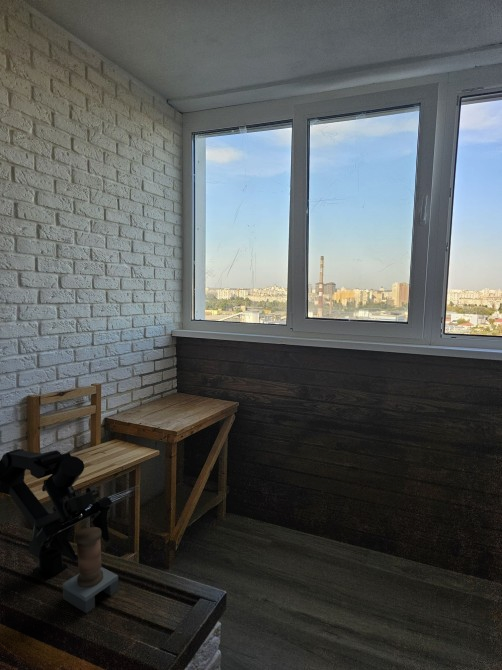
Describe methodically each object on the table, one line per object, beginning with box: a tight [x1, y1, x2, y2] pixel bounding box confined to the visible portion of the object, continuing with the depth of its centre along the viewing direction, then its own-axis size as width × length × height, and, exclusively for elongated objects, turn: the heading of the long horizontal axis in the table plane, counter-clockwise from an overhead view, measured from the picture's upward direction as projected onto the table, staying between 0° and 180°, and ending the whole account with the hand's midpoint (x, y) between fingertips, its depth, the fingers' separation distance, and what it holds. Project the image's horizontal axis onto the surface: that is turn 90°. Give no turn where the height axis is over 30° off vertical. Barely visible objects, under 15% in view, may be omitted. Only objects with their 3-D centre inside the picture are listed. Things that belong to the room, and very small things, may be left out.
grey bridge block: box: [62, 566, 120, 614], centre depth 107 cm, size 9×9×4 cm
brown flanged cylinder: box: [74, 526, 103, 588], centre depth 106 cm, size 6×6×12 cm
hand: (92, 550), depth 105 cm, fingers open, 9 cm apart
